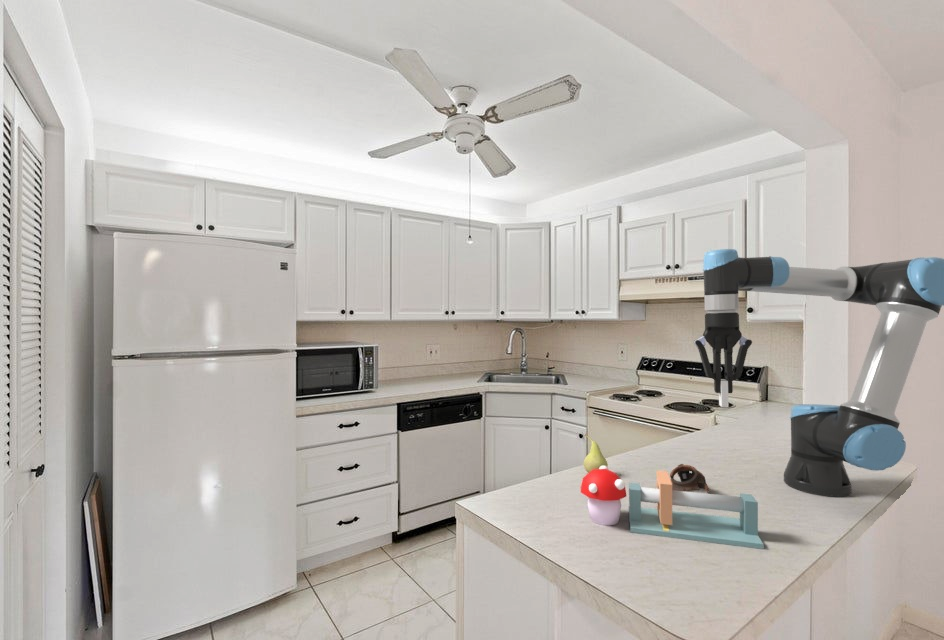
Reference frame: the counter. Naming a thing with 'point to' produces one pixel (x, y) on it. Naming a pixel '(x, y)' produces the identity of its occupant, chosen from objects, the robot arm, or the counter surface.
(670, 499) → the peach rectangular collar
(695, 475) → the pottery mug
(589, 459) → the fruit
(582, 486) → the mushroom
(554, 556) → the counter surface
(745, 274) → the robot arm
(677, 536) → the pipe rig
